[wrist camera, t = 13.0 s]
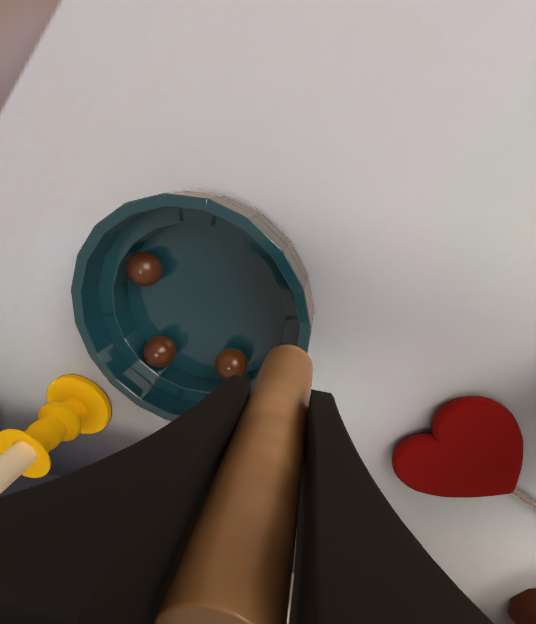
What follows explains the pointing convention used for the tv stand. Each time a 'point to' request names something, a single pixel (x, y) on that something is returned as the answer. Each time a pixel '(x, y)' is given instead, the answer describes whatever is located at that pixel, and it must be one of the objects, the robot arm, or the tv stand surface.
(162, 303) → the bowl
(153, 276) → the hazelnut
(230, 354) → the hazelnut
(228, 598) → the stirring stick
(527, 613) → the ice cream bowl
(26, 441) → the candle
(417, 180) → the tv stand surface
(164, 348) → the hazelnut
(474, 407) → the lollipop
